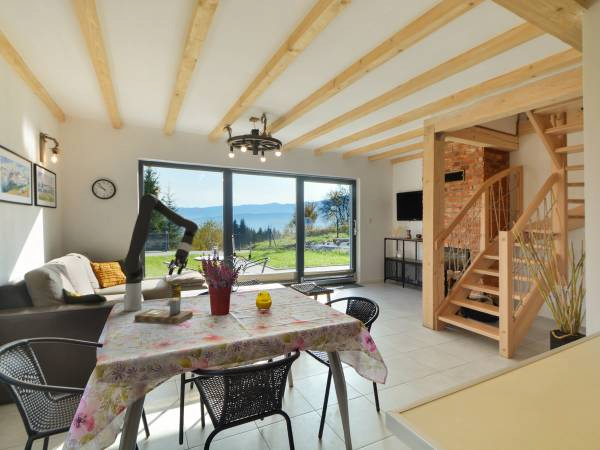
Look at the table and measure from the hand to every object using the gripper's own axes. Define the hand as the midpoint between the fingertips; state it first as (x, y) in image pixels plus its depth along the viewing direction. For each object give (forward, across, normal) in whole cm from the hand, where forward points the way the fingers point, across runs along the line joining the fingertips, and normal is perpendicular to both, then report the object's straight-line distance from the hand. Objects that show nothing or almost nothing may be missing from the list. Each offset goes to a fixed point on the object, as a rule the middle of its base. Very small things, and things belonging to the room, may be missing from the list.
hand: (174, 274), depth 195 cm
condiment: (+7, -29, +27) cm, 40 cm away
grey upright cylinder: (+25, +6, +7) cm, 27 cm away
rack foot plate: (+25, 0, +4) cm, 26 cm away
